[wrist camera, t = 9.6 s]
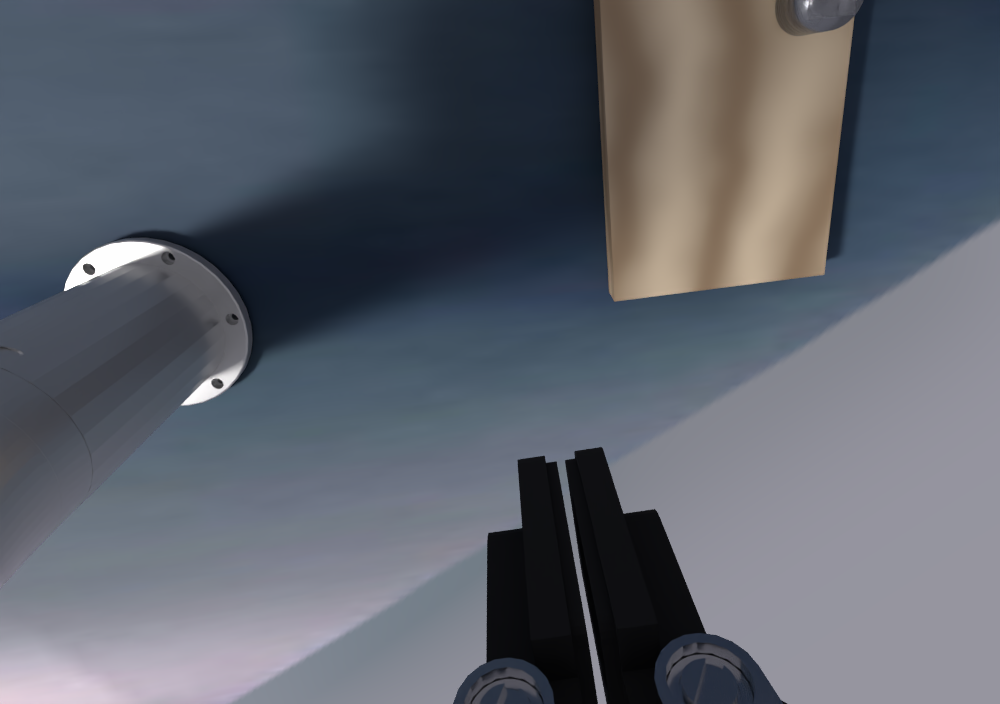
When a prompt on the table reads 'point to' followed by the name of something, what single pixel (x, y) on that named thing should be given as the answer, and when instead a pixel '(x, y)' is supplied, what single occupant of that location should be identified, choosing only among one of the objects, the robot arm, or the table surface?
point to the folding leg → (814, 15)
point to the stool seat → (715, 143)
